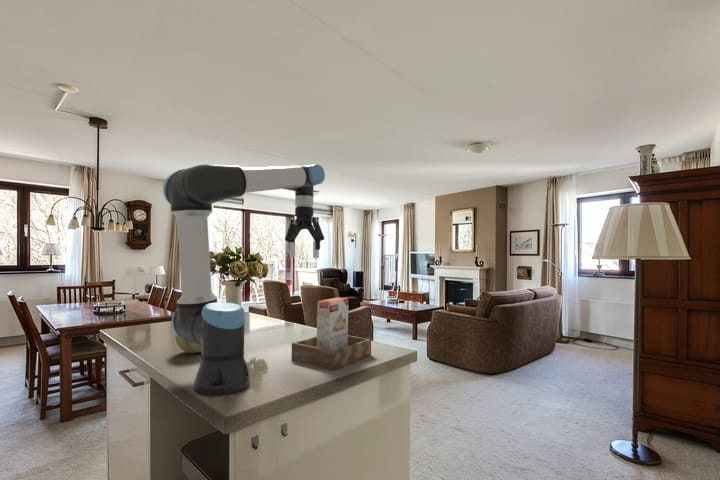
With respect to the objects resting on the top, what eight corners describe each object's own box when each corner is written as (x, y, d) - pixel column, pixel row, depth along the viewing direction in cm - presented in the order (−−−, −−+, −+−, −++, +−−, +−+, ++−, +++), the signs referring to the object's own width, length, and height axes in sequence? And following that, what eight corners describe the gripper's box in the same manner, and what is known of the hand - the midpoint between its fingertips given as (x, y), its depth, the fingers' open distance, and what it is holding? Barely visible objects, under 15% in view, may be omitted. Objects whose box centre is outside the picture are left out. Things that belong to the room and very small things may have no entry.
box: (334, 370, 118) (334, 351, 118) (291, 359, 130) (291, 343, 130) (371, 355, 136) (371, 339, 136) (330, 347, 148) (330, 332, 148)
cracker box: (330, 362, 125) (330, 301, 126) (315, 359, 128) (316, 300, 129) (348, 352, 138) (349, 297, 139) (335, 350, 140) (335, 296, 141)
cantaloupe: (224, 350, 142) (225, 312, 143) (192, 360, 129) (193, 318, 130) (199, 345, 149) (199, 309, 150) (166, 354, 136) (167, 314, 136)
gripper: (333, 205, 145) (332, 258, 144) (290, 209, 160) (289, 257, 159) (320, 203, 139) (320, 258, 138) (277, 208, 154) (276, 257, 153)
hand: (303, 257), depth 149 cm, fingers open, 13 cm apart
